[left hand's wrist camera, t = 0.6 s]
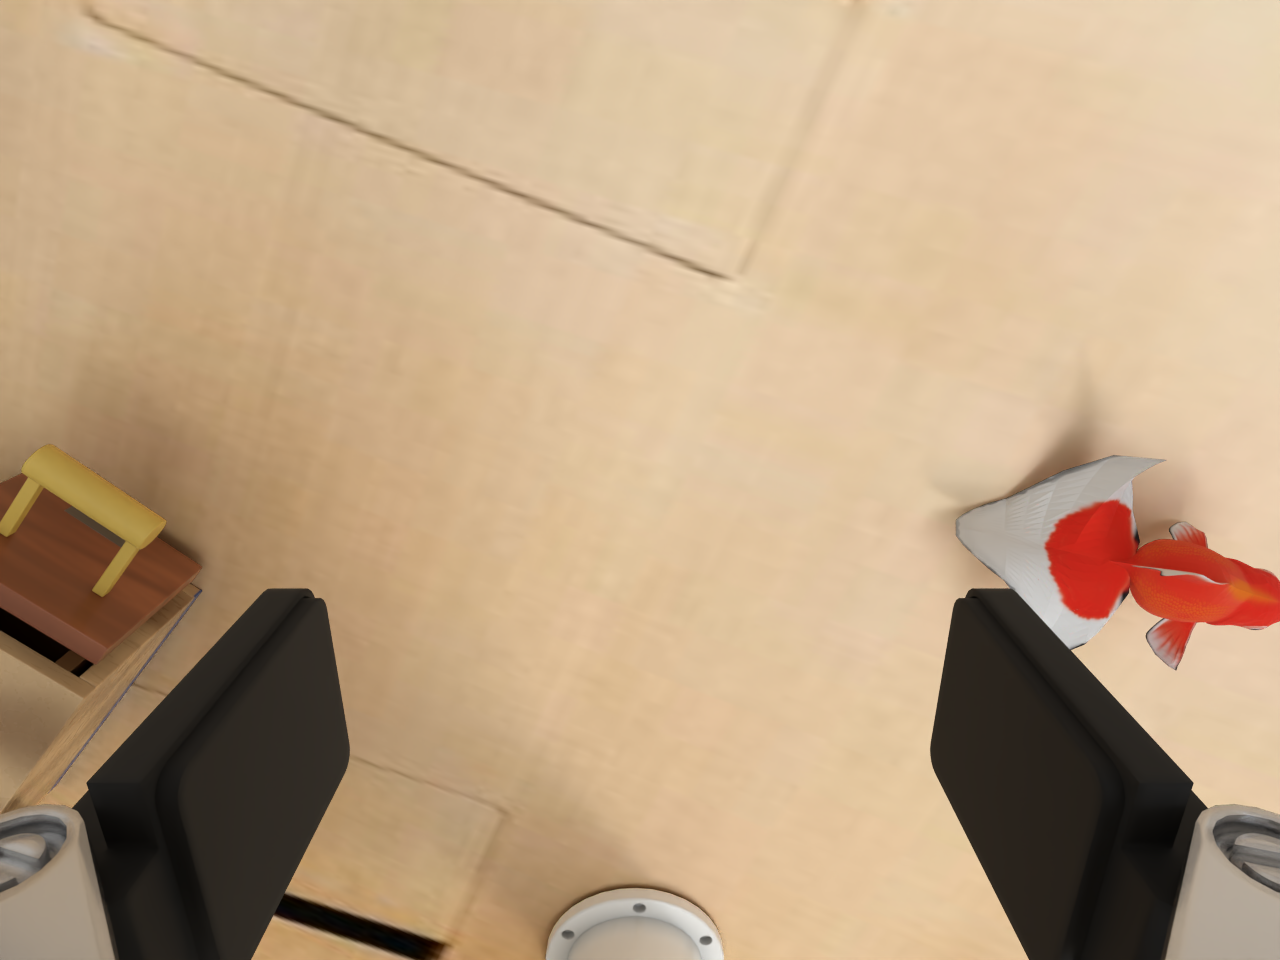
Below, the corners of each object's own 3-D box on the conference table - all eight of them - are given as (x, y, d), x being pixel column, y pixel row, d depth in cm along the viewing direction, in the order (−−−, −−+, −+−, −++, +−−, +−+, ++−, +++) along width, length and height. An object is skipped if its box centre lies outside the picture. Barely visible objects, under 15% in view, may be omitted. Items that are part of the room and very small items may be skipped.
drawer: (90, 389, 40) (-44, 438, 32) (251, 501, 42) (163, 572, 34) (-88, 673, 46) (-237, 772, 38) (61, 757, 48) (-51, 867, 40)
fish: (1164, 735, 43) (1268, 773, 33) (907, 581, 47) (933, 576, 37) (1264, 570, 43) (1396, 560, 33) (1000, 432, 47) (1049, 387, 37)
